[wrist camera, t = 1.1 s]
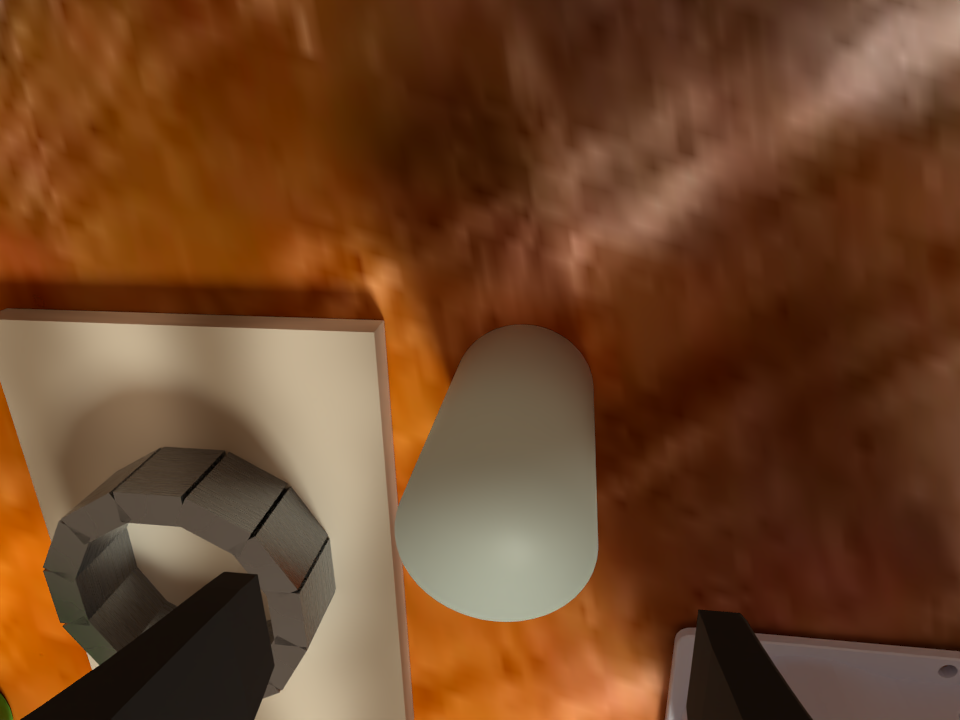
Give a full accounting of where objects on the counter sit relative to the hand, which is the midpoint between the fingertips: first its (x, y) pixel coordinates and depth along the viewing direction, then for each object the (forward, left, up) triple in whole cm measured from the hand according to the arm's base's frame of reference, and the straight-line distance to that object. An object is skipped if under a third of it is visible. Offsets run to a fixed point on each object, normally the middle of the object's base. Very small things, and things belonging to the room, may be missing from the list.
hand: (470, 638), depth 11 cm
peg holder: (+10, +9, -9) cm, 16 cm away
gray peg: (0, 0, -9) cm, 9 cm away
